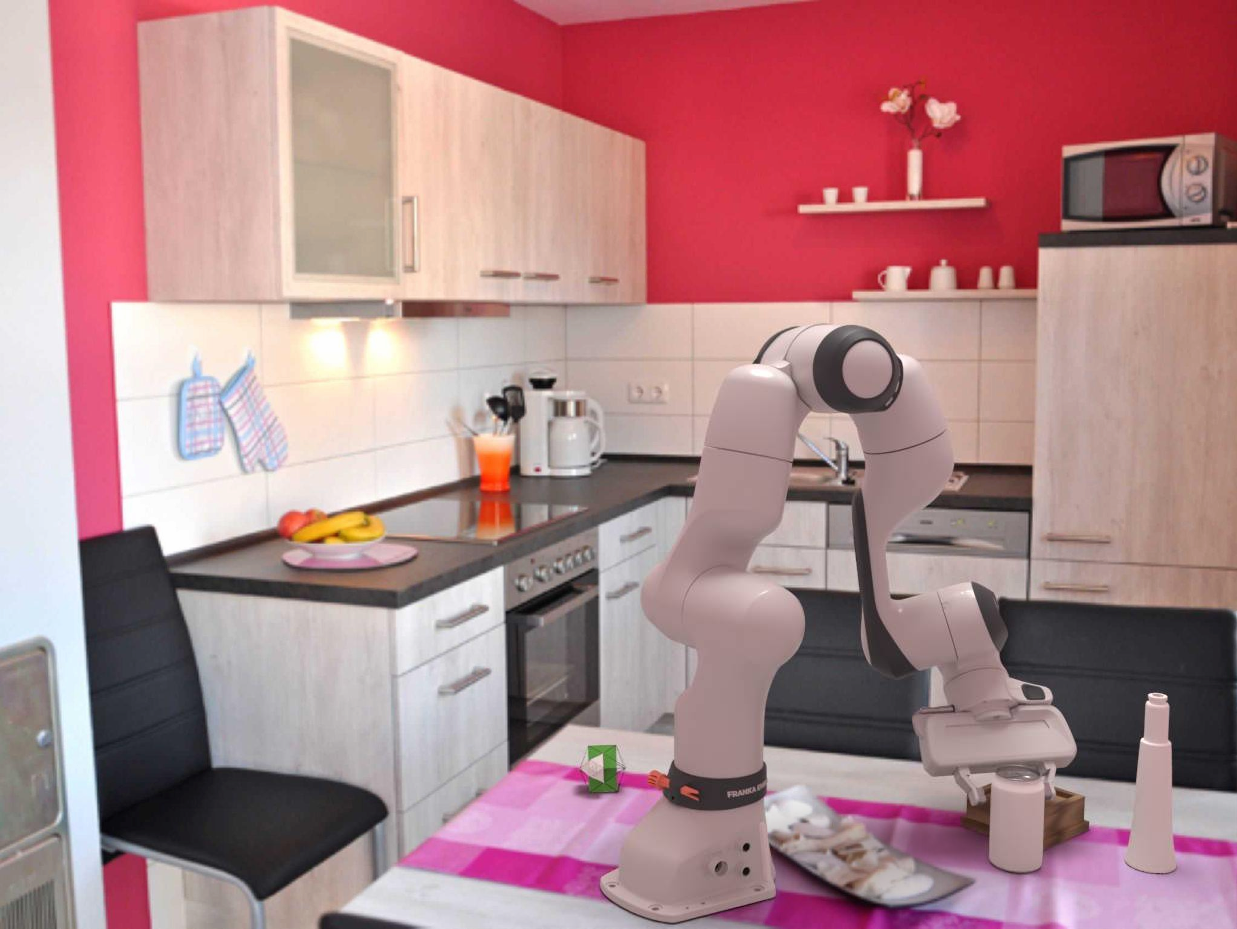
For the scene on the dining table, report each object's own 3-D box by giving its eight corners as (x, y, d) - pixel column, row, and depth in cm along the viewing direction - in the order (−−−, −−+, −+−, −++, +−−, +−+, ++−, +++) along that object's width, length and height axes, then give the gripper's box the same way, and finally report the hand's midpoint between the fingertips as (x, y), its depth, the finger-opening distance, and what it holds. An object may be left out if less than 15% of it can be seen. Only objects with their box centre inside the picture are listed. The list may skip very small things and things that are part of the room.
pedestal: (1037, 853, 170) (1039, 818, 169) (960, 825, 179) (961, 792, 178) (1089, 829, 177) (1090, 796, 177) (1012, 804, 186) (1013, 772, 186)
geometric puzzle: (578, 763, 198) (578, 732, 192) (623, 762, 198) (625, 731, 193) (579, 805, 193) (580, 775, 187) (626, 804, 193) (628, 773, 188)
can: (1048, 874, 163) (1052, 781, 162) (996, 874, 163) (999, 781, 162) (1033, 853, 170) (1036, 763, 168) (983, 853, 170) (985, 763, 168)
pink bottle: (1114, 858, 168) (1121, 691, 165) (1151, 851, 170) (1159, 686, 168) (1148, 877, 162) (1156, 704, 160) (1187, 869, 164) (1195, 699, 162)
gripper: (915, 696, 171) (944, 796, 163) (1061, 687, 174) (1097, 784, 166) (902, 719, 176) (929, 817, 168) (1044, 710, 179) (1078, 805, 171)
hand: (1014, 801), depth 167 cm, fingers open, 8 cm apart
